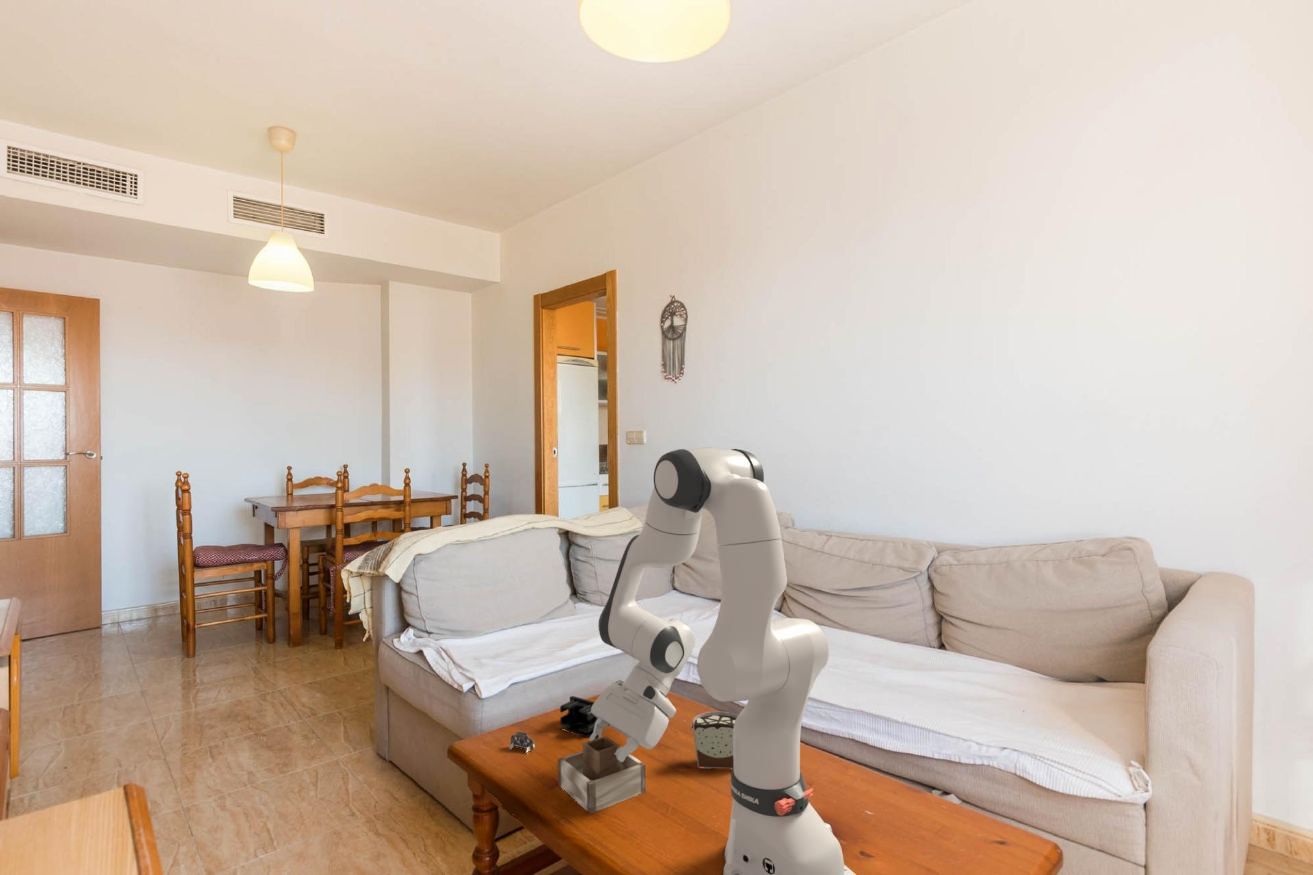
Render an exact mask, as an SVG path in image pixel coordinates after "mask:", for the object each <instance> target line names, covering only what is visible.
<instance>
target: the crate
mask: <svg viewBox="0 0 1313 875" xmlns="http://www.w3.org/2000/svg"><path fill="white" fill-rule="evenodd" d="M621 748H622V747H620V749H621ZM557 768H558V771H557V772H558V773H557V774H558V777H557V778H558V785H559V786H560V787H561V788H563V789H562V791H564V790H565V791H566V792H567V793H568V794H569V795H570V796H569V797H570V798H572V799H573V800H574V799H575V800H574V801H575V802H576V801H577V802H576V803H577V804H578V805H579V806H581V807H582V808H583V809H584V810H586V811H587V812H588V813H589V814H590V815H591V814H594V813H596V812H598V811H601V810H604V809H606V808H608V807H609V808H610V806H615V805H616V804H619V803H621V802H623V801H627V800H629V799H632V798H634V797H637V796H640V795H641V794H644V793H646V792H647V788H646V784H647V783H646V779H647V778H646V777H647V776H646V774H647V773H646V764H645V763H644V762H642V761H641V760H639V759H638V758H636V757H635V756H633V755H632V754H631V753H630V754H629V755H627V757H626V758H625V760H624V761H623V762H620V771H619V772H617V773H614V774H611V775H608V776H606V777H603V778H600V779H597V780H594V781H593V780H591V781H590V780H589V779H588V778H587V777H585V776H584V775H583V750H581V751H579V752H576V753H572V754H569V755H566V756H563V757H560V758H558V759H557ZM559 786H558V787H559ZM560 787H559V788H560ZM561 788H560V789H561ZM565 791H564V792H565ZM566 792H565V793H566ZM567 793H566V794H567ZM568 794H567V795H568ZM639 794H640V795H639Z"/></svg>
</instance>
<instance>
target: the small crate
mask: <svg viewBox="0 0 1313 875" xmlns="http://www.w3.org/2000/svg"><path fill="white" fill-rule="evenodd" d="M618 748H619V749H620V748H621V745H620V744H618V743H617V742H615V741H614V740H612V739H611V738H610V737H608V736H605V735H604V736H601V738H598V739H595V740H592V741H590V740H589V741H587V742H583V743H582V751H583V775H584V776H585V777H587V778H588V779H589V780H590V781H591V780H593V781H594V780H597V779H600V778H603V777H606V776H608V775H611V774H614V773H617V772H619V771H620V761H619V760H618V759H616V758H615V757H614V754H615V753H616V751H617V749H618Z"/></svg>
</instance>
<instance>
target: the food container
mask: <svg viewBox="0 0 1313 875" xmlns="http://www.w3.org/2000/svg"><path fill="white" fill-rule="evenodd" d="M738 715H739V714H736V713H733V712H728V711H722V710H721V711H707V712H703V713H700V714H697V715H696V716H695V717H694V718H693V720H692V722H691V726H690V731H693V737H694V746H695V753H696V756H695V757H696V762H697V768H698V767H704V768H703V769H711V768H733V727H734V723H735V721H736V719H737V717H738Z"/></svg>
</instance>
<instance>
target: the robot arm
mask: <svg viewBox="0 0 1313 875" xmlns="http://www.w3.org/2000/svg"><path fill="white" fill-rule="evenodd" d="M653 471H654V472H653V486H654V487H653V489H652V491H651V495H650V498H649V502H648V506H647V509H646V515H645V520H644V525H643V527H642V530H641V532H640V533H639V534H636V535H634V536H633V537H632V538H631V539H630V540H629V542H628V543H627V545H626V547H625V548H624V549H625V550H624V552H623V554H622V557H621V559H620V562H619V565H618V569H617V572H616V574H615V578H614V580H613V584H612V587H611V590H610V593H609V596H608V599H607V601H606V603H605V606H604V608H603V609H602V611H601V613H600V616H599V619H598V634H599V635H600V639H601V641H602V642H603V643H604V644H606V645H608V646H610V647H613V648H615V649H617V650H620V651H621V652H623V653H624V654H626V655H628V656H629V657H631V658H633V659H635V660H637V661H639V662H637V663H636V664H635V665H634V667H633V668H632V670H631V671H630V673H629V675H628V676H627V678H625V680H622V679H618V680H617V681H614V682H612V683H611V684H610V685H608V686H607V687H606V688H605V689H604V690H602V692H601V693H600V695H599V696H598V697H597V698H596V699H595V701H594V702H595V703H594V704H593V705H592V708H591V713H592V714H593V715H594V716H595V717H597V718H598V719H597V721H596V722H595V726H594V731H593V733H592V735H591V736H590V738H588V739H589V741H592V740H595V739H598V738H602V733H603V731H604V730H606V728H607V727H608V726H609V727H610V728H613V729H614V730H616V731H617V732H619V733H621V734H622V735H624V736H626V737H627V739H626V741H625V742H626V743H625V745H623V746H622V747H620V748H621V749H619V748H618V749H617V751H616V753H615V754H614V757H615V758H616V759H618V760H619V761H620V762H623V761H624V760H625V758H626V757H627V755H629V754H630V755H631V753H633V752H635V751H636V750H637V749H638V747H639V746H642V747H643V748H645V749H646V750H648V751H649V750H652V749H653V748H655V747H656V746H657V744H658V743H659V741H660V740H661V739H662V737H663V735H664V733H665V731H666V730H667V728H668V726H669V722H670V721H669V719H672V718H673V717H674V716H675V714H676V713H677V709H676V707H675V706H674V705H673V704H672V702H671V701H670V700H669V698H668V697H667V695H668V693H669V692H670V690H671V686H672V684H673V681H674V680H675V679H676V678H677V677H678V676H679V675H680V674H681V673H682V671H683V669H684V668H685V665H686V664H687V663H688V661H689V659H690V657H691V654H692V652H693V649H694V648H695V645H696V641H697V637H696V635H695V633H694V631H693V630H692V628H690V627H689V625H688V624H686V623H685V622H684V621H682V620H680V619H678V618H671V619H669V620H666V619H663V618H661V617H660V616H658V615H654V614H653V613H652V612H649V611H647V610H646V609H643V608H642V607H640V606H639V605H638V603H637V602H636V596H637V592H638V590H639V587H640V584H641V580H642V577H643V575H644V572H645V570H646V569H647V568H648V569H649V568H651V569H652V568H653V569H654V568H655V569H656V568H658V569H663V568H664V569H665V568H672V567H676V566H678V565H681V564H684V563H685V562H687V561H688V560H689V559H690V558H691V557H692V556H693V554H694V553H695V550H696V549H697V545H698V543H699V542H698V541H699V536H700V533H701V532H700V531H701V527H702V519H703V513H704V511H705V510H706V511H708V513H710V514H711V516H712V518H713V519H714V523H715V530H716V542H717V550H718V551H717V553H718V560H719V570H720V583H721V596H720V604H719V609H718V612H717V613H718V614H717V617H716V621H715V624H714V627H713V629H712V630H711V633H710V635H709V637H708V638H707V639H706V641H705V642H704V644H703V645H702V646H701V648H700V650H699V652H698V655H697V662H696V666H697V673H698V678H699V681H700V683H701V685H702V687H703V688H704V690H705V691H706V692H707V694H708V695H709V696H710V697H712V698H713V699H714V700H716V701H718V702H725V703H726V702H744V701H747V703H746V704H745V706H744V708H743V709H742V710H741V711H740V713H739V714H737V715H738V717H737V719H736V721H735V723H734V727H733V768H732V769H730V770H731V771H730V780H729V781H730V783H729V784H730V793H731V796H732V806H731V807H732V808H731V813H730V820H729V822H730V823H729V832H728V838H727V842H726V846H725V850H724V860H725V865H724V866H723V875H857V874H856V873H855V872H854V871H852V870H851V869H850V868H849V867H848V866H847V865H846V864H845V860H844V855H843V850H842V846H841V843H840V842H839V840H838V838H837V837H836V836H835V835H834V834H833V828H832V826H831V825H830V824H829V823H827V822H824V820H823V819H822V817H821V816H820V815H819V814H818V812H817V811H816V810H815V809H814V807H813V806H812V805H811V802H810V798H811V797H812V796H814V793H813V791H814V788H812V787H811V788H810V789H808V790H807V787H806V784H805V781H804V777H803V773H802V772H801V771H800V770H801V769H800V768H801V767H800V766H801V730H802V724H803V718H804V715H805V710H806V707H807V704H808V701H809V698H810V695H811V691H812V689H813V686H814V683H815V682H816V680H817V678H818V676H819V675H820V674H821V672H822V671H823V669H825V667H826V665H827V663H828V661H829V656H830V655H829V654H830V652H829V650H830V648H829V644H828V641H827V637H826V636H825V633H824V631H823V630H822V629H821V628H820V626H819V625H818V624H816V623H815V622H814V621H812V620H809V619H807V618H798V617H796V618H795V617H793V618H792V617H783V618H779V619H775V620H773V614H774V610H775V606H776V604H777V602H778V600H779V598H780V597H781V596H782V594H783V593H784V592H785V590H786V588H787V584H788V575H787V574H788V573H787V568H786V560H785V554H784V546H783V539H782V533H781V528H780V522H779V517H778V514H777V509H776V507H775V503H774V500H773V497H772V494H771V491H770V489H769V487H768V485H766V484H765V482H764V480H765V477H764V476H765V475H764V469H763V465H762V463H761V461H760V460H759V459H758V457H757V456H756V455H755V454H753V453H751V452H750V451H747V450H743V449H738V448H731V449H727V448H726V449H725V448H713V447H696V448H695V447H694V448H690V449H685V448H678V449H675V450H671V451H668V452H666V453H665V454H664V453H663V455H661V456H660V458H658V460H657V462H656V464H655V466H654V470H653Z"/></svg>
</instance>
